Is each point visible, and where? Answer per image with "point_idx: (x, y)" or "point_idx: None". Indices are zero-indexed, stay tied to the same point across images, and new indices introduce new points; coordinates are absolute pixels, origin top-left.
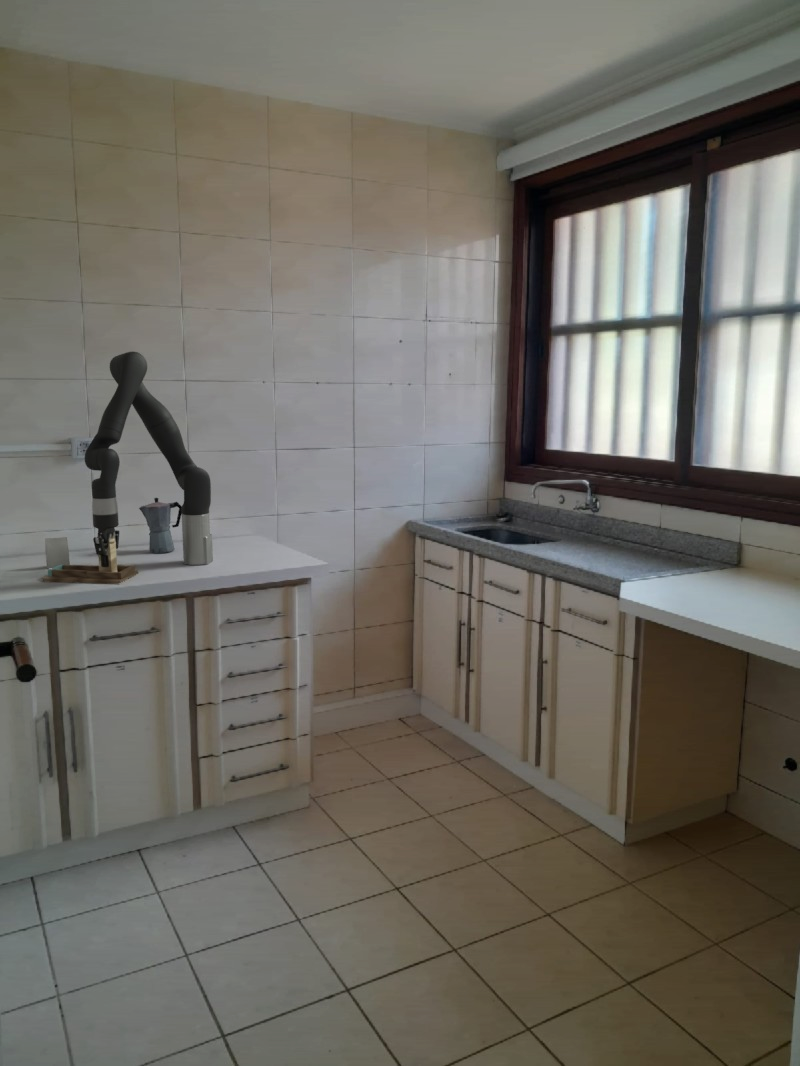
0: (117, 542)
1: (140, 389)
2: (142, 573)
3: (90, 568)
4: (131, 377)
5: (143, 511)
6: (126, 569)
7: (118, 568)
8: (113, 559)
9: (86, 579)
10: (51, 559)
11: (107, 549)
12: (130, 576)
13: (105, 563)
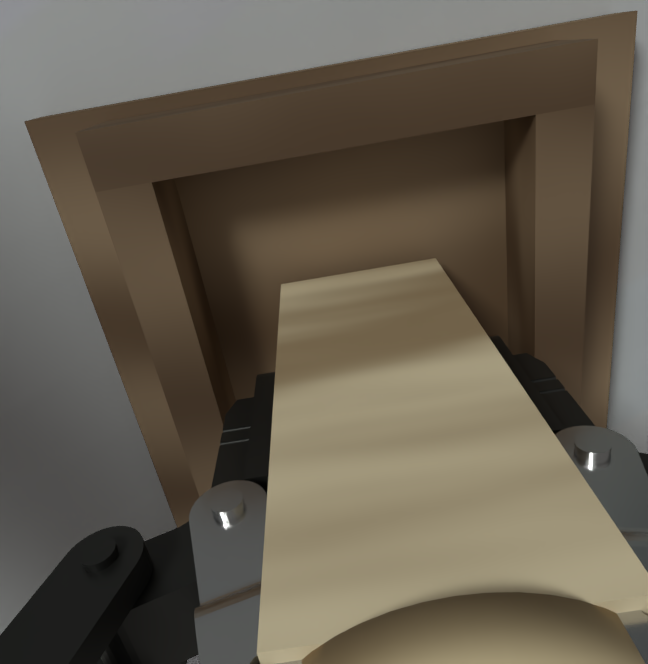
0: (41, 657)
1: None
2: (13, 64)
3: None
4: None
5: None
6: (350, 105)
7: (205, 326)
8: (395, 358)
9: (596, 414)
10: None
11: (618, 516)
12: (293, 71)
13: (549, 370)
